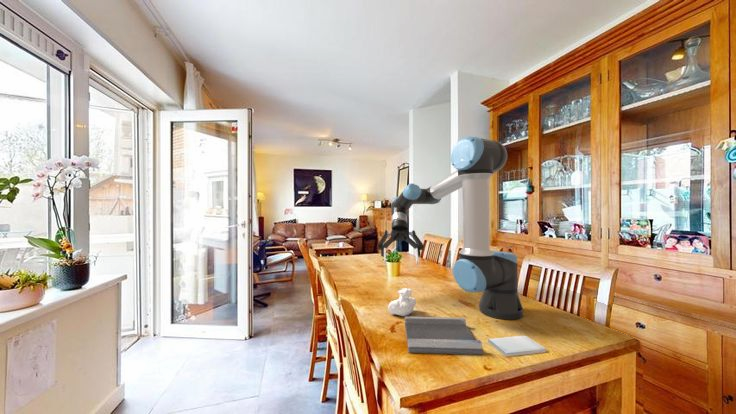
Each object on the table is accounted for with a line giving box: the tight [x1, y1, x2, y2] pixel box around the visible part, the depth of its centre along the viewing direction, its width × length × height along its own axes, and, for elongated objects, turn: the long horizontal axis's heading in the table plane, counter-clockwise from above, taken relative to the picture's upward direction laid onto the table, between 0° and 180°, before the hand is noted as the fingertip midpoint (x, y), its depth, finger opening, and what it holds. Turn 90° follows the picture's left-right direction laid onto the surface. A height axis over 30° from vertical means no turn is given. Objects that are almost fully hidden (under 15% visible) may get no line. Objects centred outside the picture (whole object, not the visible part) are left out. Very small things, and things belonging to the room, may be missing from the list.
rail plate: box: [404, 316, 484, 356], centre depth 84 cm, size 20×18×3 cm
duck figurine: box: [387, 287, 417, 317], centre depth 102 cm, size 12×8×11 cm
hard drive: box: [487, 335, 547, 358], centre depth 78 cm, size 2×8×12 cm
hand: (401, 262), depth 113 cm, fingers open, 13 cm apart
